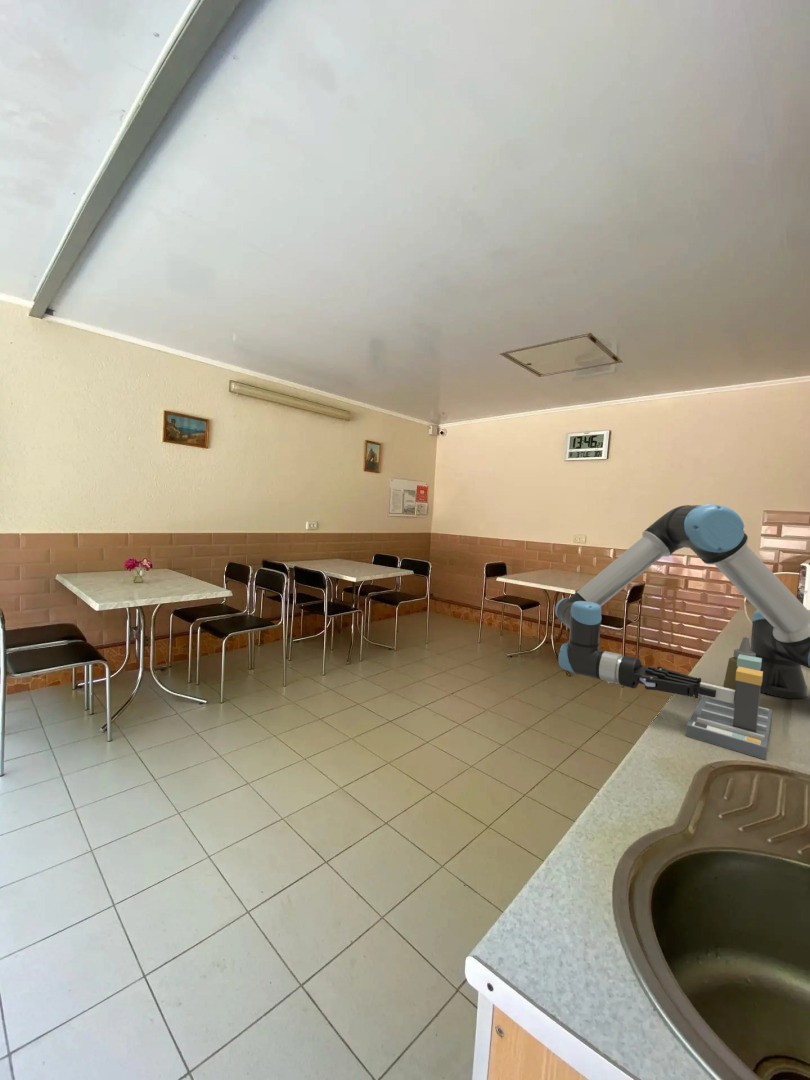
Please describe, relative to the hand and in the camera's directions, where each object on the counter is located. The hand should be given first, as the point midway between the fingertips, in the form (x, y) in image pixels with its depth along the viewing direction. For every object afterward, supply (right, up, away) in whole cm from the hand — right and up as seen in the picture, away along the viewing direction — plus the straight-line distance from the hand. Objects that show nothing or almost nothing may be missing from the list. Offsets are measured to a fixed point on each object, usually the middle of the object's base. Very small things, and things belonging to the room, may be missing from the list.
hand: (734, 696), depth 101 cm
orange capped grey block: (+2, -7, -1) cm, 7 cm away
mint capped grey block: (+9, -7, +9) cm, 14 cm away
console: (+3, -9, +6) cm, 11 cm away
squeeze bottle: (+15, -9, +19) cm, 26 cm away
